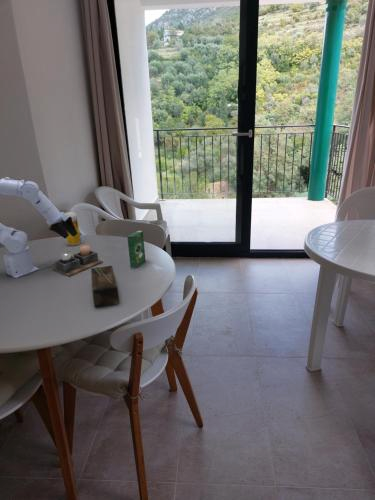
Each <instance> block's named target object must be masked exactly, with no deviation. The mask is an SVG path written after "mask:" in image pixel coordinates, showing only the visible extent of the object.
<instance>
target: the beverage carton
mask: <svg viewBox="0 0 375 500" xmlns="http://www.w3.org/2000/svg"><path fill="white" fill-rule="evenodd" d="M90 273H91V275H90V276H91V292H92V298H93V305H94V308H101V307H106V306H112V305H118V304H119V302H120V298H119V289H118V284H117V280H116V276H115V271H114V267H113V265H107V266H94V267H92V268H90Z"/></svg>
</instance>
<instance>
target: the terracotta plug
mask: <svg viewBox="0 0 375 500" xmlns="http://www.w3.org/2000/svg"><path fill="white" fill-rule="evenodd" d="M78 249H79V252H80V256H83V257H84V256H87V255H90V250H91V249H90V245H89V244H87V245H86V244H83V245H80V246H79V247H78Z"/></svg>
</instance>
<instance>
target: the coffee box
mask: <svg viewBox="0 0 375 500" xmlns="http://www.w3.org/2000/svg"><path fill="white" fill-rule="evenodd" d="M126 238H127V246H128V256H129V262H130V263H129V266H130V268H131V269H132V268H133V269H135V268H138V267H139V266H141V265H142V264H144V262H146V251H145V250H146V249H145V240H144V239H145V238H144V231H143V230H136V231H134V232H132V233H131V234H129V235H127V236H126Z"/></svg>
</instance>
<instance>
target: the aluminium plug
mask: <svg viewBox="0 0 375 500" xmlns="http://www.w3.org/2000/svg"><path fill="white" fill-rule="evenodd" d="M59 255H60V259H61V260H62V263H64V264H67V263H69V262H72V261H73V260H72V257H73V256H72V252H71V251H64V252H61V253H60V254H59Z"/></svg>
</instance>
